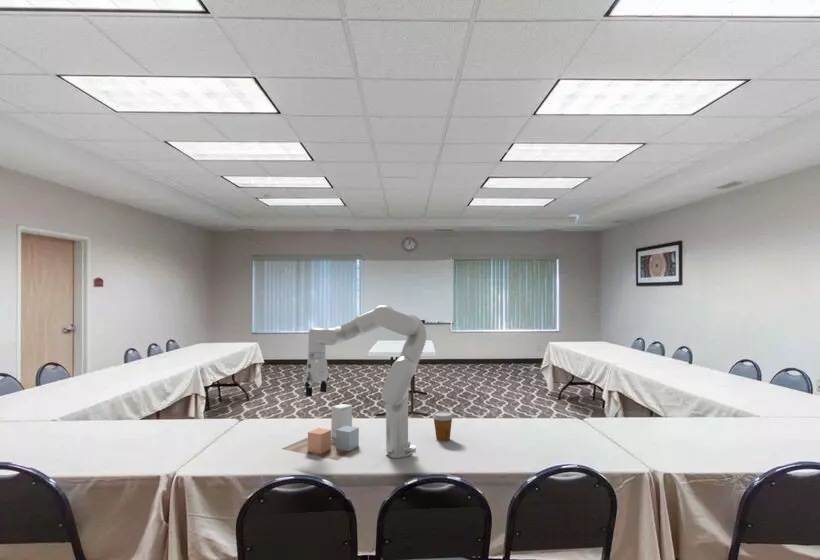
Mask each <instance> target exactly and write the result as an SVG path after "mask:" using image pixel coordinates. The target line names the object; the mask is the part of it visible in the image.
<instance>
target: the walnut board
mask: <svg viewBox="0 0 820 560" xmlns="http://www.w3.org/2000/svg"><path fill="white" fill-rule="evenodd" d="M359 449H360V447H359V446H358V447H356V448H354V449H352V450H351V451H346V450H341V449H336V442H332V441H331V449H329V450H328V451H326V452H324V453H322V454H319V453H313V452H308V437H305V438H302V439H301V440H299V441H296V442H294V443H292V444H289V445H288V446H285V447H282V448H281V450H286V451H289V452H290V451H291V452H295V453H301V454H306V455H311V456H315V457H321V458H325V459H329V460H334V461H339V460H340V459H342V458H344V457H345V456H348V455H349V454H351V453H353V452H354V451H356V450H359Z"/></svg>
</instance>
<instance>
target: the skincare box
mask: <svg viewBox="0 0 820 560" xmlns="http://www.w3.org/2000/svg"><path fill="white" fill-rule="evenodd" d="M344 426H351V427H353V405H352V404H347V403H346V404H345V403H341V404H337V405H332V406H331V429H330V430H331V438H334V439H336V430H337V429H339V428H342V427H344Z"/></svg>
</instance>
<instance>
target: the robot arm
mask: <svg viewBox="0 0 820 560" xmlns="http://www.w3.org/2000/svg"><path fill="white" fill-rule="evenodd" d="M380 328H384V329H387V330H389V331H392V332H394V333H396V334H399V335H403V336H406V340H405V342H404V344H403V346H402V349H401V352H400V354H399V356H398V357H397V359H396V360H395V361H394V362H393V363H392V365H391V367H390V369H389V371H388V375H387V377H386V380H385V382H384V385H383V387H382V389H381V399H382V401H383V403H384V404H385V440H386V441H385V444H386V445H385V450H386V452H387V454H386V455H385V457H387V458H391V459H403V458H406V457H409V456H411V454H414V453H415V454H416V453H417V447H416V446H415V445H411V441H409V394H410V390H409V385H410V383H411V380H412V378H413V376H414V375H415V373H416V371H417V367H418V364H419V362H420V359H421V357H422V353H423V351H424V349H425V345H426V341H427V331H426V326H425V324H424V323H423V321H422V320H421V319H420V318H419V317H418V316H416V315H414V314H405V313H402V312H400V311H397V310H395V309H394V308H393V307H392V306H390V305H387V304H385V305H378V306H376V307H375V308H374V309H372V310H370V311H367V312H365V313H362V314H360V315H357V316H356V317H355V318H354V319H353V320H351V321H349V322H346V323H344V324H341V325H338V326H336V327H331V328H330V327H329V328H324V327H323V328H322V327H313V328H310V329H309V330H308V345H307V346H308V350H307V351H308V354H307V358H308V359H307V362H306V369H305V371H306V372H305V375H304V376H303V377H302V379H301V380H302V383H303V386H304V388H305V396H306V397H310V398H312V396H313V387H312V386H313V384H315V383H319V382H320V384H319V385H320V387H319V388H320V389H319V390H320V393H327V389H328V388H327V387H328V386H327V385H328V381H329V379H330V378H329V377H330V375H331V374H330V373H331V372H329V370H328V361H327V357H326V347H327V346H335V345H338V344H342V343H345V342H346V341H349V340H351V339H354V338H357V337H358V336H363V335H365V334H367V333H368V334H369V333H370V332H372V331H375V330H377V329H380Z"/></svg>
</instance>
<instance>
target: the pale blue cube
mask: <svg viewBox="0 0 820 560" xmlns="http://www.w3.org/2000/svg"><path fill="white" fill-rule="evenodd" d="M359 428H360V427H358V426H352V427H351V426H344V427H342V428H339V429H337V430H336V438H335V443H336V449H341V450H346V451H351V450H352V449H354V448H356V447H359V446H360V445H359V444H360V439H359V438H360V436H359V435H360V433H359V432H360V429H359Z"/></svg>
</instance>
